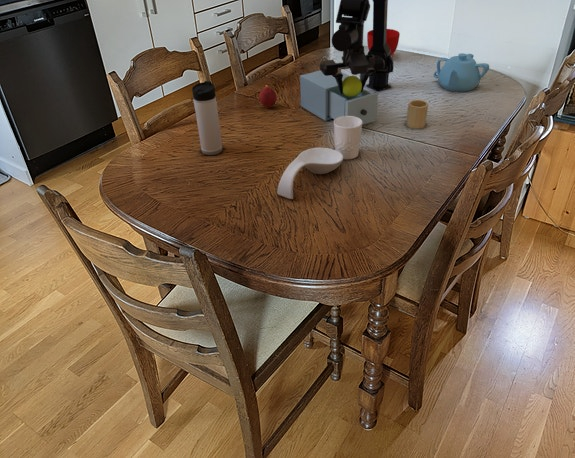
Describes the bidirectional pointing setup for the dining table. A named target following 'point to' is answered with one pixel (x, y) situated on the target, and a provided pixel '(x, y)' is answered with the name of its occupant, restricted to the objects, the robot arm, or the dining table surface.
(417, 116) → the stand
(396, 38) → the ceramic cup
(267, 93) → the onion
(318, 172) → the spoon rest
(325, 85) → the cabinet
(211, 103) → the travel mug
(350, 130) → the white cup
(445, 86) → the teapot
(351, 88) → the ball
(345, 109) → the drawer
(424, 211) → the dining table surface
